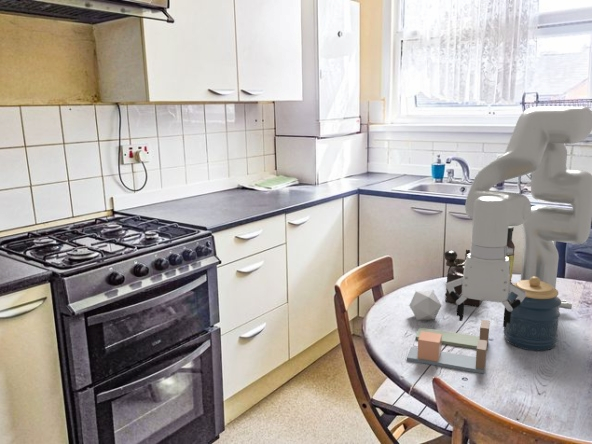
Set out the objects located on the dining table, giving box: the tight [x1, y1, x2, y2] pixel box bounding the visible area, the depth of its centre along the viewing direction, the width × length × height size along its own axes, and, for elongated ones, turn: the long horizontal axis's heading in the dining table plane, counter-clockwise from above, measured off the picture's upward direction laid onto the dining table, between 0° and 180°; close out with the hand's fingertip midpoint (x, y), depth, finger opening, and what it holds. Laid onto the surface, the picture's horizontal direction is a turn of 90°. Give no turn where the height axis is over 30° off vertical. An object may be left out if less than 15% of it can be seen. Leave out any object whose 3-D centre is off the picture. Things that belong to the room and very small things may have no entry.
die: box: [408, 290, 442, 321], centre depth 151 cm, size 8×9×10 cm
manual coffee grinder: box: [443, 249, 483, 308], centre depth 161 cm, size 16×11×18 cm
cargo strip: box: [406, 339, 488, 374], centre depth 127 cm, size 18×6×6 cm, turn 67°
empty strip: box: [415, 319, 491, 352], centre depth 137 cm, size 18×6×6 cm, turn 67°
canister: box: [503, 276, 562, 351], centre depth 135 cm, size 13×13×18 cm
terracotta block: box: [417, 331, 443, 362], centre depth 128 cm, size 5×5×5 cm
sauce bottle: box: [506, 226, 516, 283], centre depth 177 cm, size 7×6×20 cm
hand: (482, 322), depth 121 cm, fingers open, 9 cm apart
